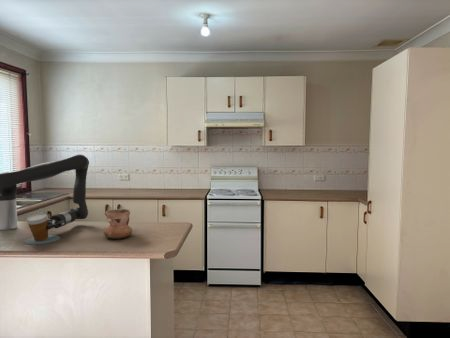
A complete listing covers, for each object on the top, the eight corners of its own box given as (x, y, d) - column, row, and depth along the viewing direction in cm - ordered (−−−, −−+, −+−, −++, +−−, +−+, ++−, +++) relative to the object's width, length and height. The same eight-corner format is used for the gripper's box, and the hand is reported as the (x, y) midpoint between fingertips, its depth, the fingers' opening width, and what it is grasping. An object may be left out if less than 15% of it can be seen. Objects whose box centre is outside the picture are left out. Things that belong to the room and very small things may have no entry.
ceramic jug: (119, 242, 164) (119, 215, 163) (96, 239, 169) (95, 212, 168) (140, 234, 181) (140, 208, 180) (118, 231, 186) (118, 206, 185)
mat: (17, 241, 166) (17, 241, 166) (47, 234, 180) (47, 233, 180) (36, 246, 159) (36, 245, 159) (66, 237, 173) (66, 237, 173)
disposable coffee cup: (35, 244, 162) (31, 222, 159) (27, 239, 168) (22, 218, 165) (55, 237, 169) (50, 215, 166) (46, 232, 175) (42, 211, 172)
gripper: (49, 212, 184) (26, 219, 168) (71, 213, 181) (51, 221, 165) (49, 225, 185) (27, 234, 169) (72, 227, 182) (51, 235, 166)
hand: (39, 227), depth 167 cm, fingers closed on disposable coffee cup, 8 cm apart
